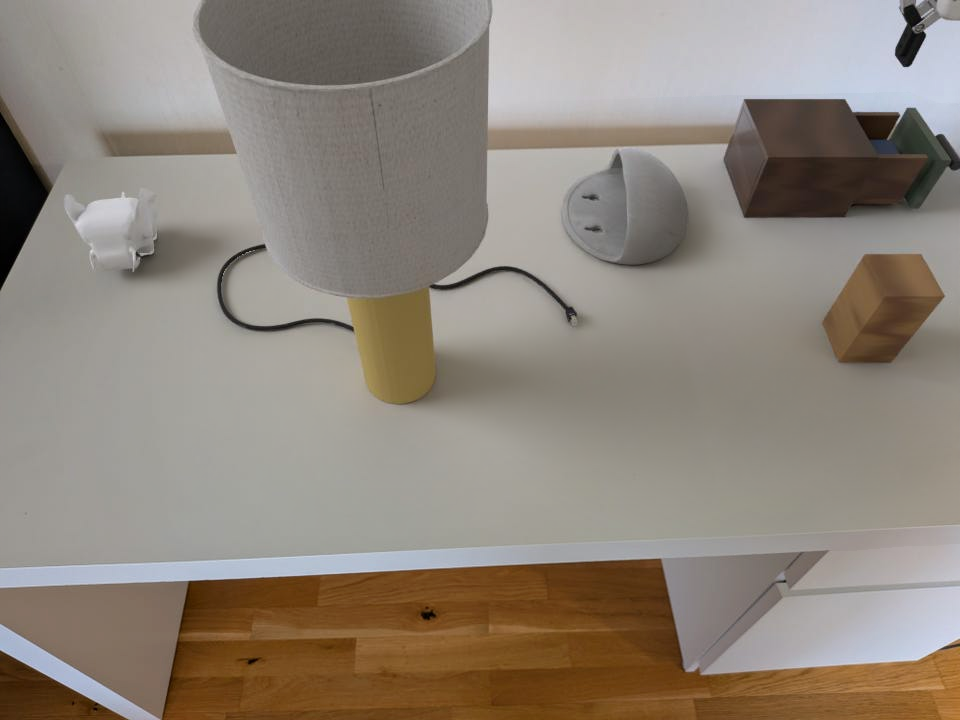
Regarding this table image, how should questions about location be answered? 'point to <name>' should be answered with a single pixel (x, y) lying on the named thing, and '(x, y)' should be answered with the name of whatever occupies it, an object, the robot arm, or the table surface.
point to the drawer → (904, 159)
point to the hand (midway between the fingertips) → (943, 60)
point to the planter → (627, 209)
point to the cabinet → (798, 157)
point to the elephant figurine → (116, 228)
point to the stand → (881, 307)
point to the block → (884, 147)
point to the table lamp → (361, 157)
